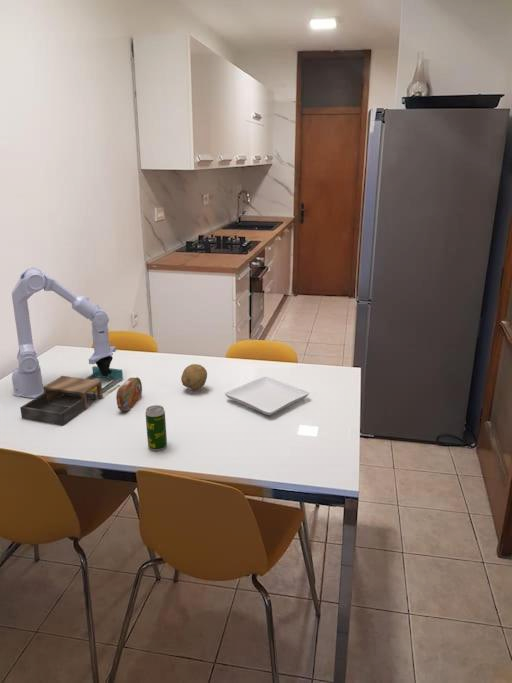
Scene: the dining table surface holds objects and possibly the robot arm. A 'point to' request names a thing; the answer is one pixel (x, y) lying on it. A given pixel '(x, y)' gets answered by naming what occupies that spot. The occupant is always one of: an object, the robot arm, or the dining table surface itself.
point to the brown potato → (194, 377)
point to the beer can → (156, 428)
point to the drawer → (112, 374)
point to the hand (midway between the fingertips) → (104, 375)
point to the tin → (129, 394)
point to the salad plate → (266, 395)
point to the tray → (55, 413)
